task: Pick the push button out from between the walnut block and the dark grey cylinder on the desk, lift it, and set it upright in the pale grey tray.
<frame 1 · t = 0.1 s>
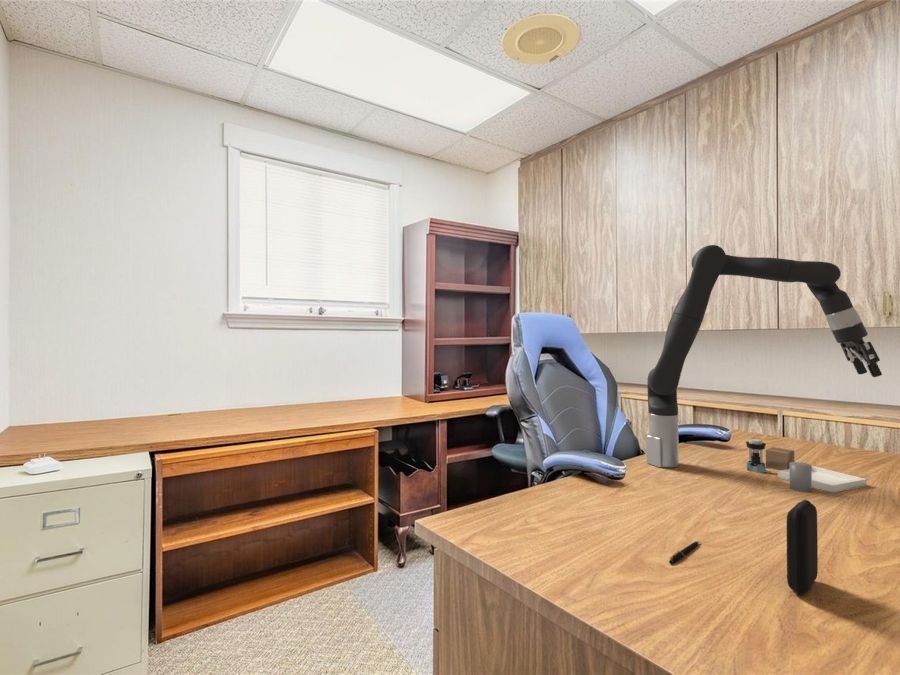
hand: (870, 374, 138), 31 cm above the table, tool tilted 20°, fingers open, 8 cm apart
dark grey cylinder: (800, 489, 131), on the table
walnut block: (780, 468, 152), on the table
grey tray: (820, 481, 137), on the table
fountain pen: (685, 555, 95), on the table
carrying case or bag: (803, 587, 82), on the table
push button: (758, 472, 148), on the table
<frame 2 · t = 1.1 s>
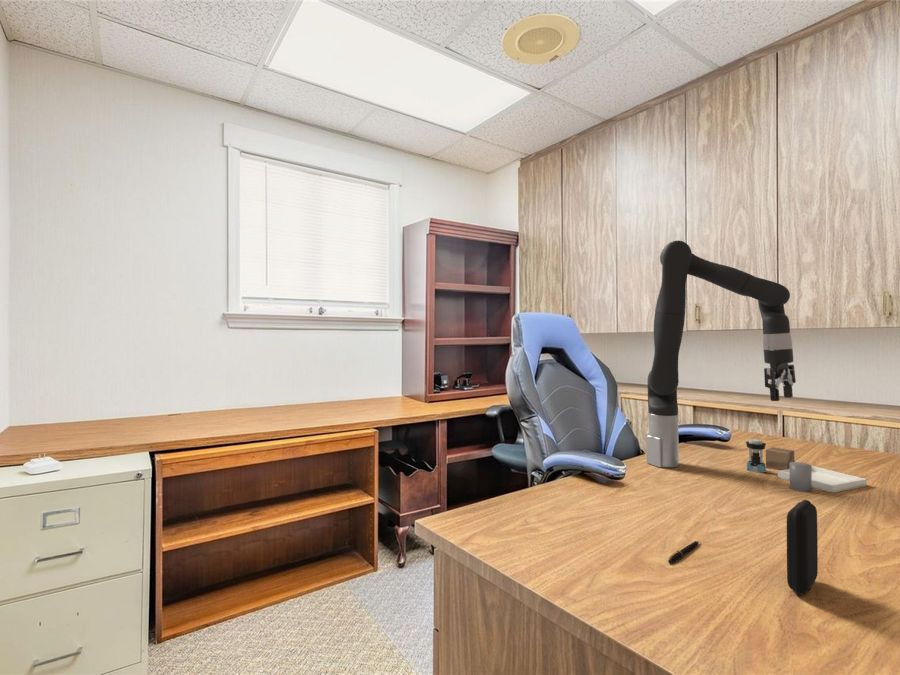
hand: (781, 399, 146), 23 cm above the table, tool pointing down, fingers open, 8 cm apart
nothing on the table moved.
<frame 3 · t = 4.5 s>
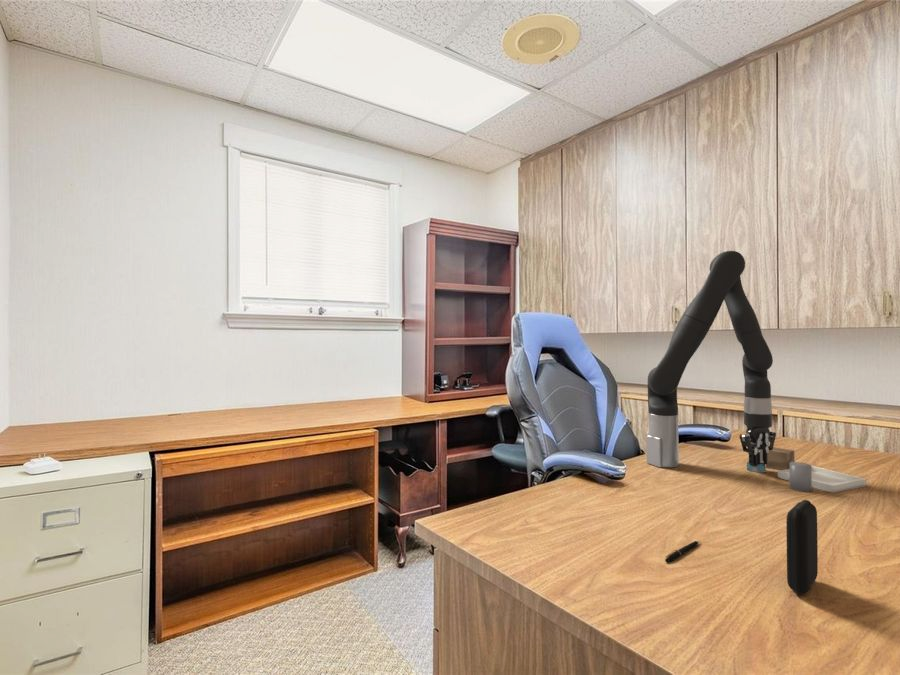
hand: (758, 464, 148), 2 cm above the table, tool pointing down, fingers closed on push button, 4 cm apart
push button: (758, 472, 148), on the table, touching gripper
everything else where it was.
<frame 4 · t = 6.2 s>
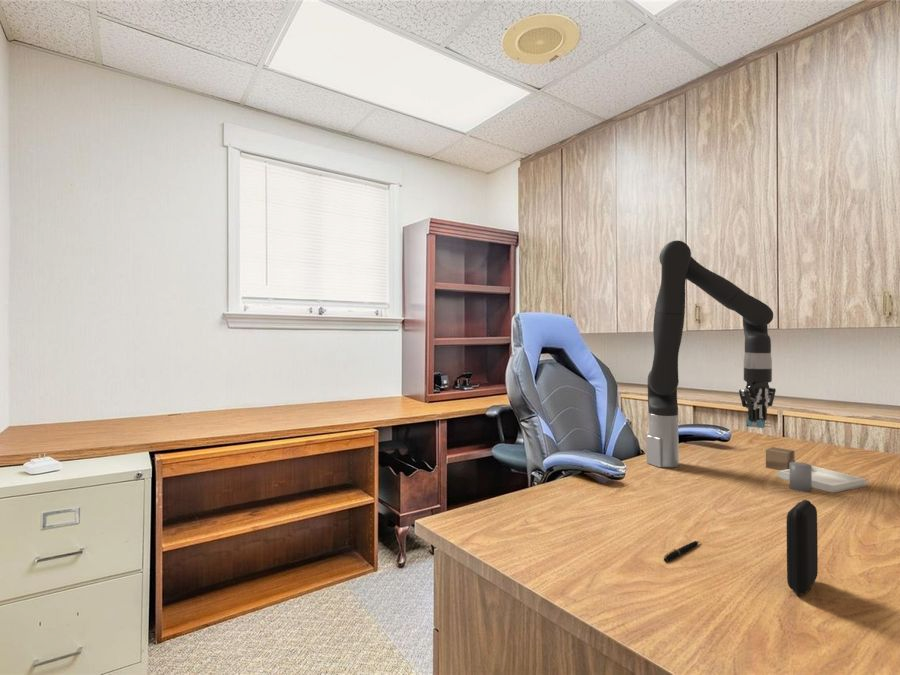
hand: (757, 420, 148), 16 cm above the table, tool pointing down, fingers closed on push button, 4 cm apart
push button: (757, 427, 148), point 14 cm above the table, touching gripper
everything else where it was.
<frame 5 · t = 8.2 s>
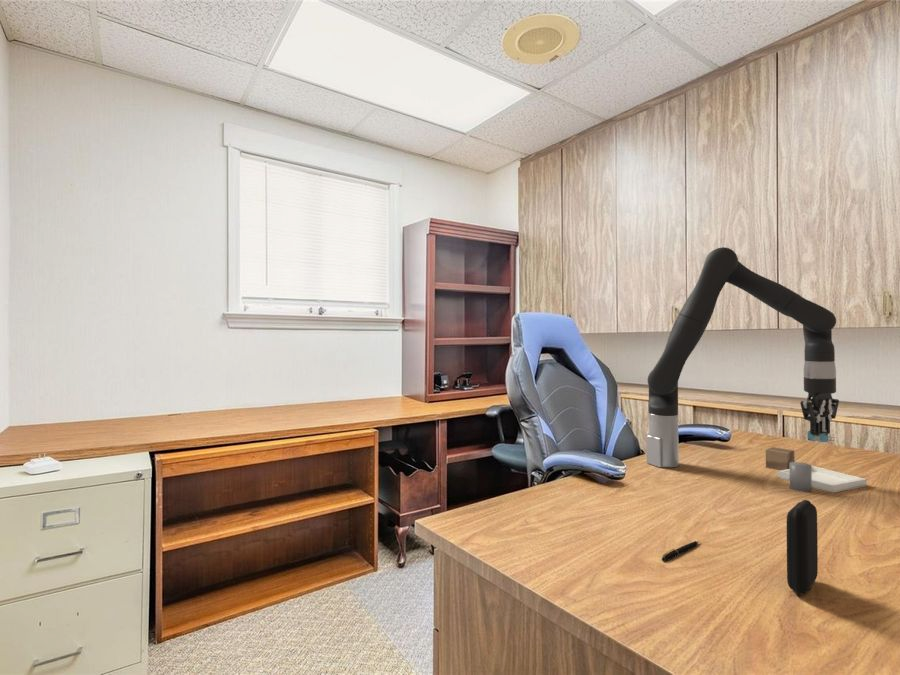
hand: (820, 433, 137), 14 cm above the table, tool pointing down, fingers closed on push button, 4 cm apart
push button: (820, 441, 137), point 12 cm above the table, touching gripper
everything else where it was.
when the fingers open (5 cm above the table, at t = 10.6 s): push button drops 2 cm, resting on grey tray.
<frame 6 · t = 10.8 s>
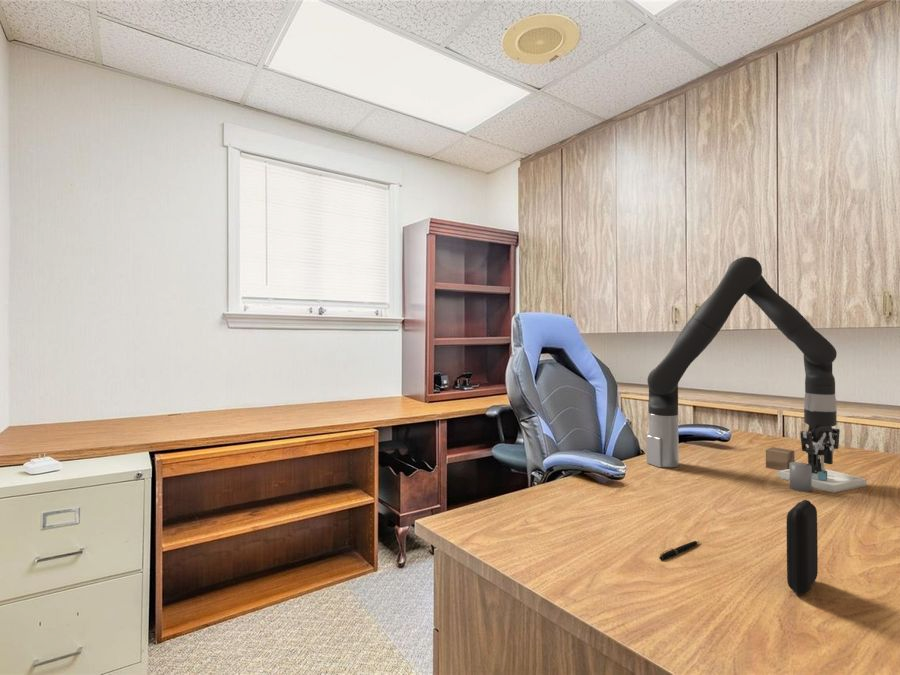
hand: (820, 464, 137), 5 cm above the table, tool pointing down, fingers open, 6 cm apart
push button: (819, 480, 137), resting on grey tray, touching gripper
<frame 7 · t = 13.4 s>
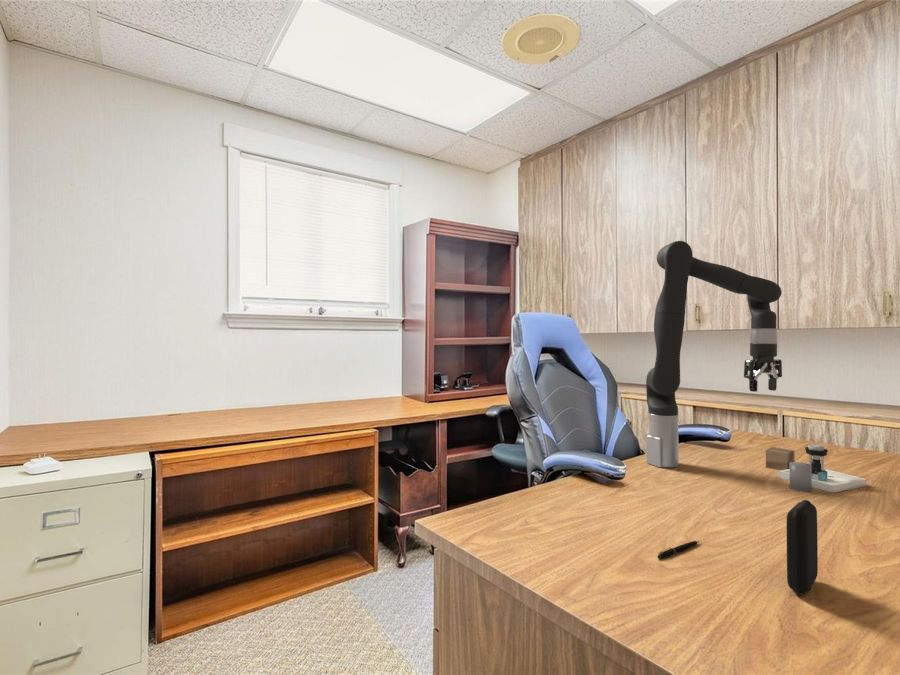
hand: (762, 390, 154), 25 cm above the table, tool pointing down, fingers open, 8 cm apart
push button: (819, 480, 137), resting on grey tray
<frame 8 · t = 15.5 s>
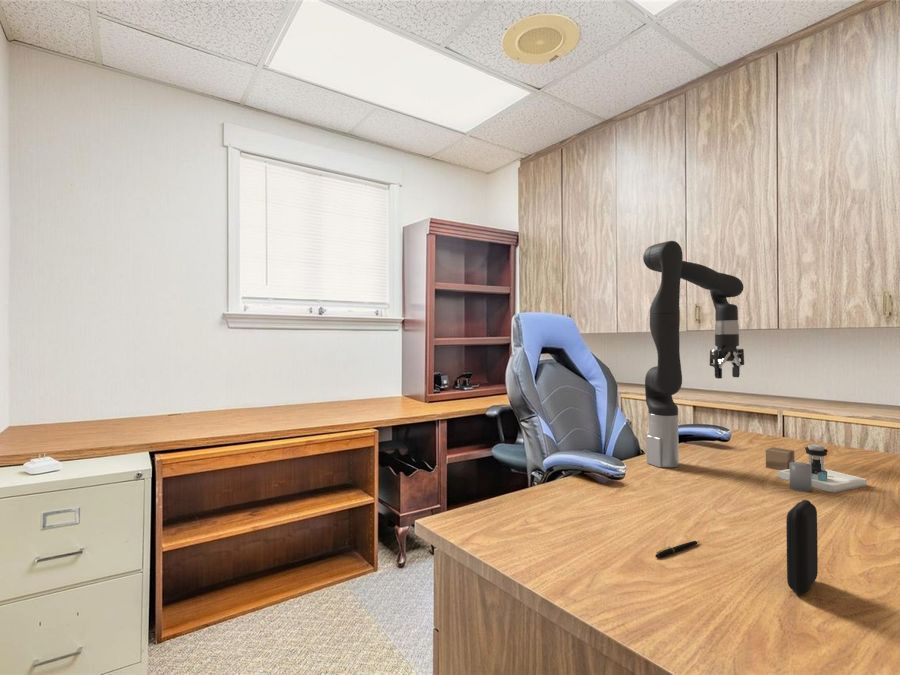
hand: (727, 377, 168), 28 cm above the table, tool pointing down, fingers open, 8 cm apart
at the end: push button inside the target area on the grey tray (0.6 cm from its centre), point 0.4 cm above the grey tray's base; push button tilted 0°; the gripper is holding nothing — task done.
